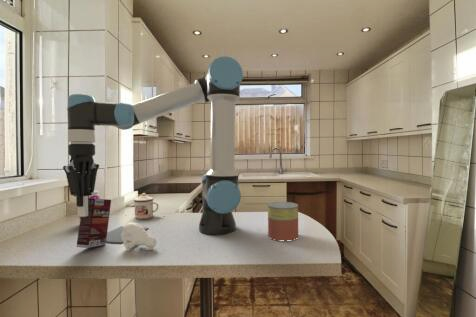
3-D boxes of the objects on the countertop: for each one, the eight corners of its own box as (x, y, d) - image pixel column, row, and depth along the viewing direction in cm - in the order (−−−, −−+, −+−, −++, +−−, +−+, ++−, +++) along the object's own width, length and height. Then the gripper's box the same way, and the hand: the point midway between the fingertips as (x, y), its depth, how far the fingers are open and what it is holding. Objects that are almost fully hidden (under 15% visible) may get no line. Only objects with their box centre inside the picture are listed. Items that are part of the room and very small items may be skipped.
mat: (148, 228, 113) (148, 227, 113) (121, 243, 95) (121, 242, 95) (121, 227, 115) (121, 226, 115) (89, 241, 98) (89, 240, 98)
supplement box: (88, 248, 86) (94, 198, 89) (75, 247, 87) (82, 198, 90) (106, 244, 94) (112, 199, 97) (95, 243, 96) (100, 198, 98)
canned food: (305, 238, 98) (304, 205, 98) (281, 244, 92) (280, 209, 92) (284, 230, 108) (284, 200, 108) (262, 235, 102) (261, 204, 102)
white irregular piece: (131, 219, 94) (161, 224, 91) (130, 243, 95) (160, 249, 92) (119, 224, 88) (151, 230, 85) (117, 249, 89) (149, 256, 85)
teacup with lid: (131, 219, 130) (130, 195, 129) (139, 214, 139) (138, 192, 139) (155, 219, 129) (154, 195, 128) (162, 214, 138) (161, 192, 138)
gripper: (86, 144, 94) (87, 211, 94) (54, 142, 81) (56, 220, 82) (105, 144, 92) (106, 212, 93) (76, 142, 80) (77, 221, 80)
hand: (83, 215), depth 87 cm, fingers closed
